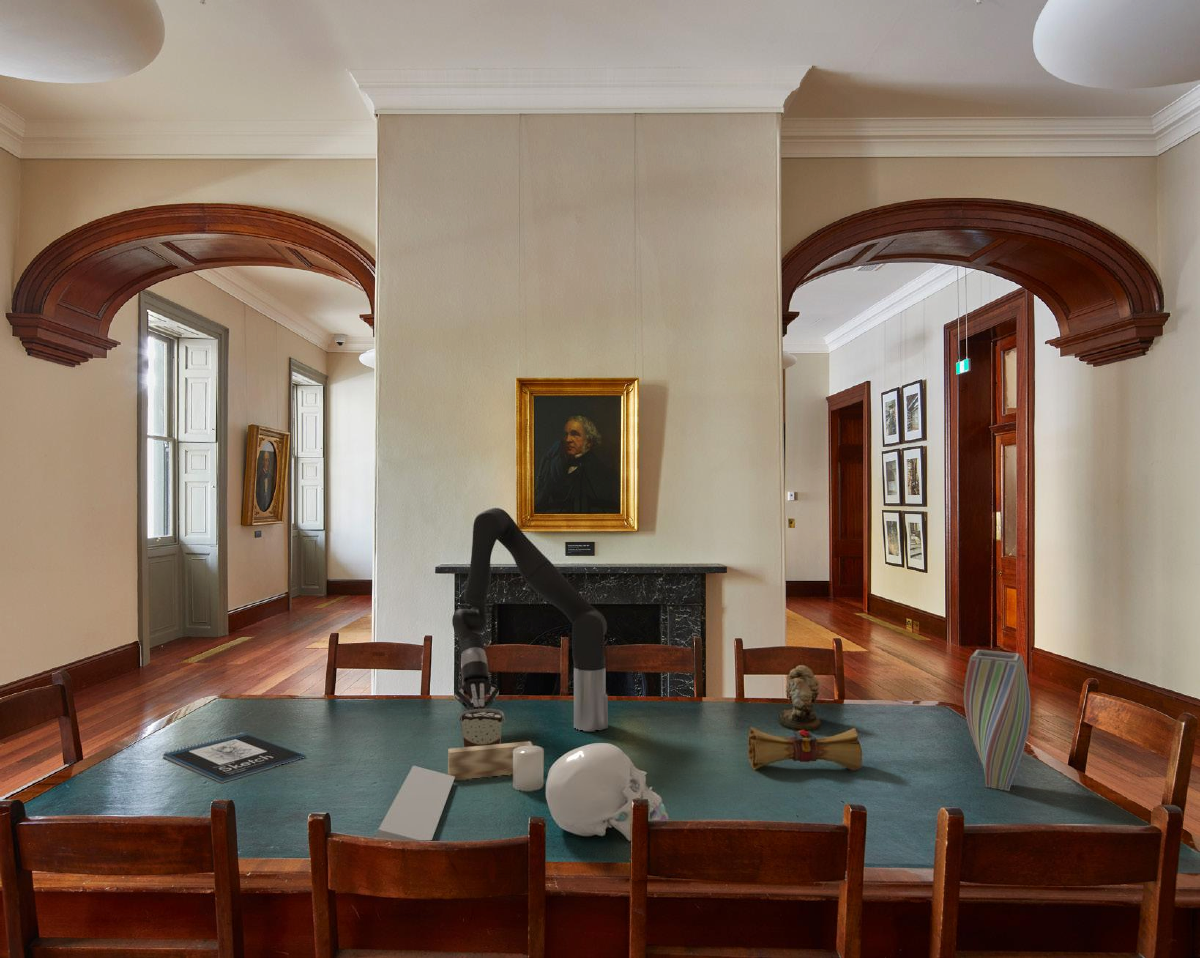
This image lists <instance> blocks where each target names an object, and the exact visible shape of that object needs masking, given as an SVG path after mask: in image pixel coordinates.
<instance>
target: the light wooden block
mask: <svg viewBox="0 0 1200 958" xmlns="http://www.w3.org/2000/svg"><path fill="white" fill-rule="evenodd" d="M520 746H534V745H533V743H532V742H531V741H530V740H529V741H519V742H509V743H508V742H507V743H501V744H495V745H484V746H473V747H463V746H462V747H452V748H451V747H450V748H448V749H447V775H451V776H455V778H454V780H459V781H467V780H466V779H469V780H472V779H471V778H479V777H488V778H493V777H492V776H498V777H502V776H501V775H508V776H512V775H511V774H513V750H514V749H515V748H517V747H520ZM464 779H465V780H464ZM479 779H480V778H479Z"/></svg>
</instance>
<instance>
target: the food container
mask: <svg viewBox="0 0 1200 958" xmlns="http://www.w3.org/2000/svg"><path fill="white" fill-rule="evenodd" d="M504 714H505V713H504V712H503V711H502V710H499V709H494V708H488V709H487V708H486V709H474V710H471V709H470V710H466V711H463V712H461V713H460V715H459V718H458V722H459V723H460V722H461V725H460V726H461V735H462V736H461V738H462V747H473V746H484V745H495V744H502V736H503V735H502V734H503V725H504V724H506V716H505V715H504Z"/></svg>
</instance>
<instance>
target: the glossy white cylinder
mask: <svg viewBox="0 0 1200 958" xmlns="http://www.w3.org/2000/svg"><path fill="white" fill-rule="evenodd" d="M544 750H545V749H544V748H543V747H541V746H538V745H533V746H520V747H517V748H515V749H514V750H513V775H512V788H513V789H514V788H515V790H516V791H519V790H521V791H520V792H535V791H538V790H540V789H542V788H543V787H544V758H545V757H544V752H545V751H544ZM534 790H535V791H534Z"/></svg>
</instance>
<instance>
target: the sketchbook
mask: <svg viewBox="0 0 1200 958" xmlns="http://www.w3.org/2000/svg"><path fill="white" fill-rule="evenodd" d="M306 756H307V755H306V754H304V753H301V752H298V751H296V750H292V749H290V748H287V747H284V746H281V745H279V744H276V743H273V742H271V741H268V740H265V739H262V738H260V737H257V736H254V735H251V734H248V733H245V732H242V731H241V732H239V733H235V734H234V733H233V734H230V735H229V736H228V735H226V736H223V737H220V738H217V739H216V738H214V739H213V740H212V739H210V740H207V741H204V742H200V743H197V744H196V743H194V745H193V744H192V745H187V747H186V746H184V747H180V748H177V749H175V748H174V749H173V750H170V751H168V750H166V751H165V752H164V753H163V757H162V758H163V759H165V760H167V761H170V762H172V763H175V764H177V765H179V766H181V767H183V768H185V769H188V770H191V771H193V772H195V773H198V774H200V775H202V776H205V777H207V778H210V779H212V780H214V781H216V782H218V783H221V784H224V783H226V782H227V783H228V782H230V781H233V780H236V779H240V778H244V777H246V776H247V777H248V776H250V775H253V774H256V773H259V772H264V771H266V770H270V769H273V767H274V768H276V767H275V766H277V767H279V765H280V766H282V765H281V764H283V763H287V762H290V761H293V760H297V759H300V758H304V757H306ZM306 758H307V757H306ZM304 759H305V758H304ZM300 760H301V759H300ZM297 761H298V760H297ZM290 763H291V762H290ZM287 764H288V763H287Z"/></svg>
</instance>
